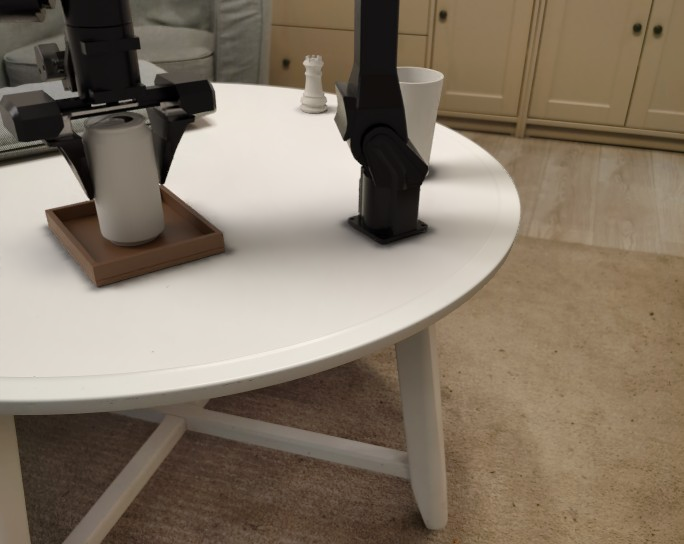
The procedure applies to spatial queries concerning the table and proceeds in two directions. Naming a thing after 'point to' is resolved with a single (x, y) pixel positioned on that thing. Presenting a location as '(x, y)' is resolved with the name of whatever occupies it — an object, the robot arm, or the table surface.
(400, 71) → the cup
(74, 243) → the tray
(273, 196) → the table surface
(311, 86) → the rook chess piece
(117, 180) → the beverage can
